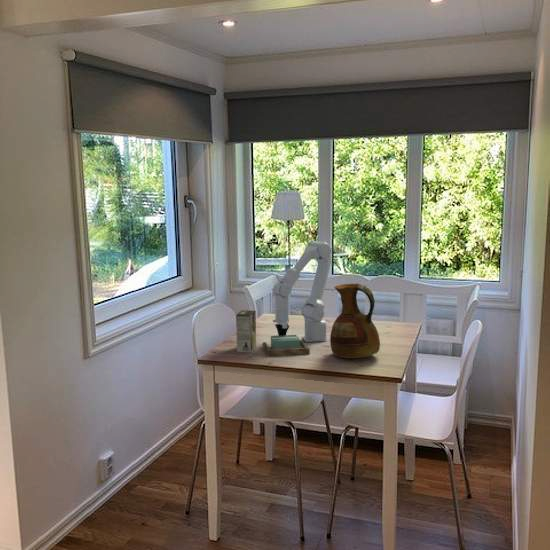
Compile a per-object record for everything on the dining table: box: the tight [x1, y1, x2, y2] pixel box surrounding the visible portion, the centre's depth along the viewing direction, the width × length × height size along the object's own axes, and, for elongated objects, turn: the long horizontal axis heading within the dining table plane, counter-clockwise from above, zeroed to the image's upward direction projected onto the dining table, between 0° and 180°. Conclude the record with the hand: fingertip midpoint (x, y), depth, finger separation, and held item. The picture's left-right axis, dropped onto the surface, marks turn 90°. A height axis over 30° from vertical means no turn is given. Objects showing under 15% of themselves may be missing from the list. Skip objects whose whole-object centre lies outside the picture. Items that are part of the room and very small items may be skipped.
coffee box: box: [235, 309, 257, 354], centre depth 251 cm, size 9×6×16 cm
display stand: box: [262, 339, 311, 357], centre depth 250 cm, size 17×14×2 cm
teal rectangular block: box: [270, 334, 301, 349], centre depth 252 cm, size 11×9×5 cm
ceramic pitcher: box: [329, 283, 381, 359], centre depth 239 cm, size 20×20×30 cm
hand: (282, 340), depth 258 cm, fingers closed
